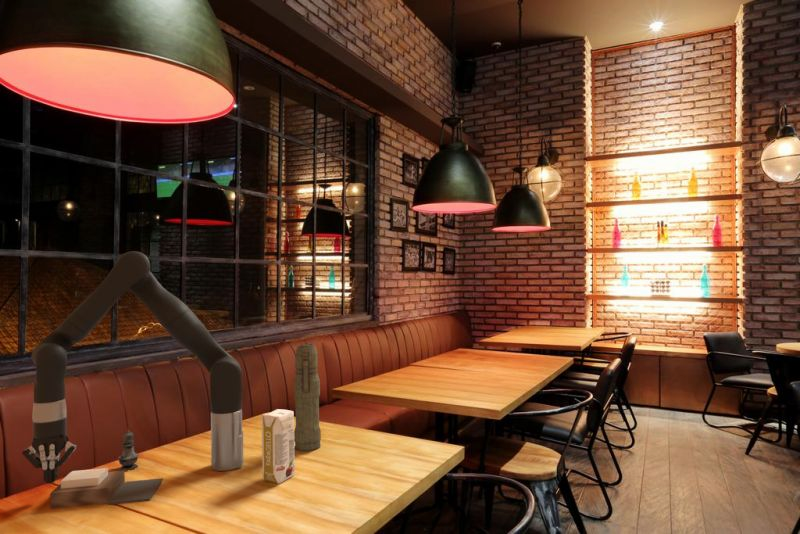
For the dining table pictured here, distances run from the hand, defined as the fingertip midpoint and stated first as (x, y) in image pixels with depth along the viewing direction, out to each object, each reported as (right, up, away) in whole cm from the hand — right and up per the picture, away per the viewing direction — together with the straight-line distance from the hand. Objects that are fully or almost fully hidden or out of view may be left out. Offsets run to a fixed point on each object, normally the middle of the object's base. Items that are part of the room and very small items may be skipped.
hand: (50, 482), depth 138 cm
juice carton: (+58, -4, +12) cm, 60 cm away
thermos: (+62, -4, +38) cm, 73 cm away
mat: (+21, -4, +4) cm, 22 cm away
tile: (+8, -1, +2) cm, 8 cm away
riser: (+9, -5, +2) cm, 11 cm away
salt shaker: (+9, -5, +22) cm, 25 cm away
